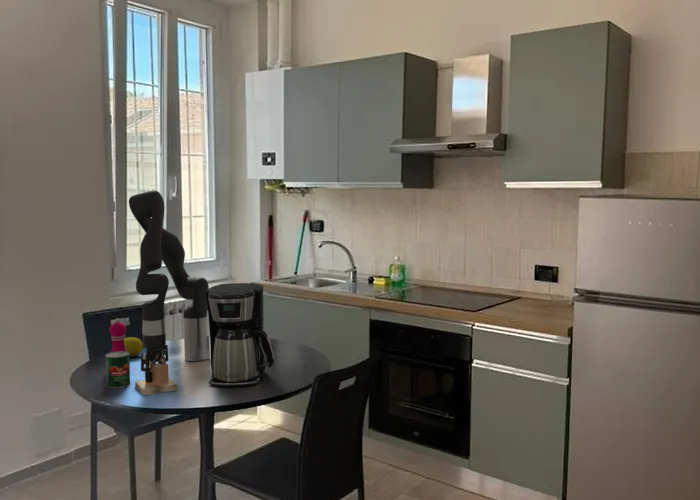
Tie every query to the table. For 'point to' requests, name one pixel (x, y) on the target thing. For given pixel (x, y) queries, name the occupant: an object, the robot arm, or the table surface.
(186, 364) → the table surface
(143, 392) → the post base
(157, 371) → the cardboard cube
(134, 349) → the lemon
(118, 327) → the pepper mill
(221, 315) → the coffee maker
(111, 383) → the canned tomato
